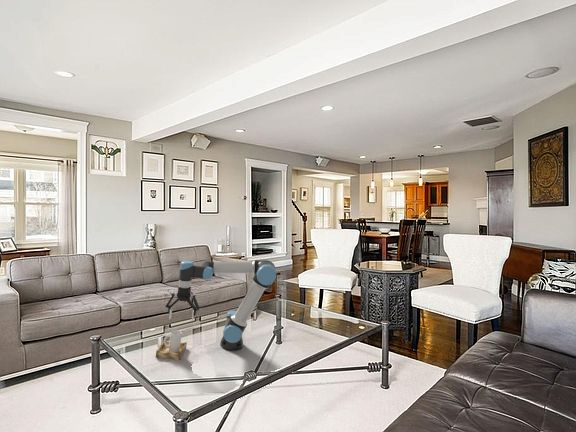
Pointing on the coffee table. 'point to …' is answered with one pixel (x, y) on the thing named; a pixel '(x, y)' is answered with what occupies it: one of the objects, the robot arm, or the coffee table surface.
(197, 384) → the coffee table surface
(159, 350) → the crate
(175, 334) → the mug
